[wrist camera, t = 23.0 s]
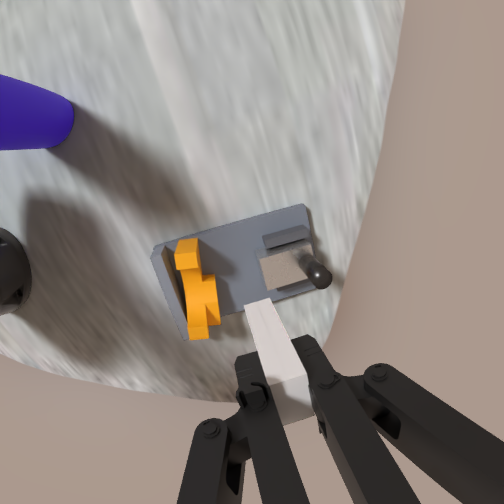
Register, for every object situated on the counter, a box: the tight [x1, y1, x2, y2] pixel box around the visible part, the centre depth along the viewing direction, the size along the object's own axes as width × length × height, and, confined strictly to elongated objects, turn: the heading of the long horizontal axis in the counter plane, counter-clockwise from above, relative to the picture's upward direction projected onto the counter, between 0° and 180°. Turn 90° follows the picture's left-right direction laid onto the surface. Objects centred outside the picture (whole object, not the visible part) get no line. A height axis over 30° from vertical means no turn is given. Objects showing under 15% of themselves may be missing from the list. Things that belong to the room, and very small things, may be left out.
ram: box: [255, 238, 332, 290], centre depth 39 cm, size 7×5×10 cm, turn 105°
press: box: [150, 204, 316, 340], centre depth 42 cm, size 22×13×6 cm, turn 104°
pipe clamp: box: [174, 238, 221, 340], centre depth 40 cm, size 12×4×6 cm, turn 4°
